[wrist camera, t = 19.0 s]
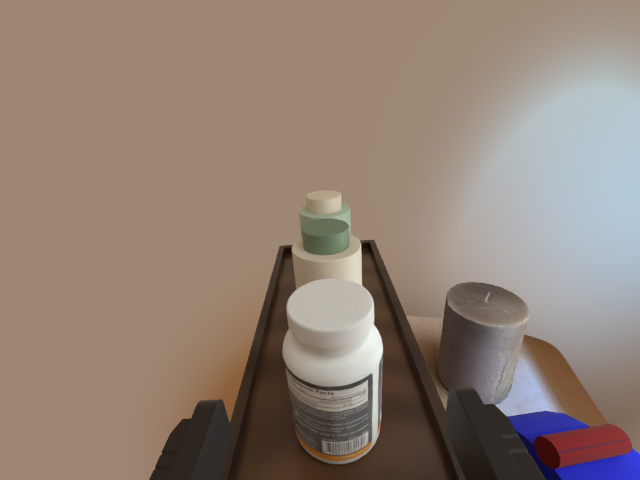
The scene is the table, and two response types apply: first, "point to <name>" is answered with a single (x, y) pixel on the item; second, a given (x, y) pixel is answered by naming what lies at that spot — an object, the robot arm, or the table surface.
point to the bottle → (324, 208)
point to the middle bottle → (327, 253)
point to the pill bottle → (334, 369)
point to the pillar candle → (481, 339)
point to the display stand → (396, 409)
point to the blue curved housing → (576, 448)
